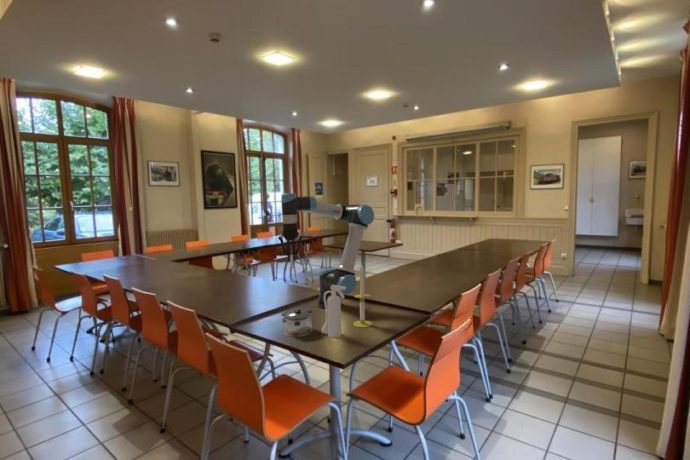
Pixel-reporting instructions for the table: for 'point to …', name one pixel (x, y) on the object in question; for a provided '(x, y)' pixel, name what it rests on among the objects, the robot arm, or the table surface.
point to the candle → (362, 302)
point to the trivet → (302, 335)
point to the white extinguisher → (333, 311)
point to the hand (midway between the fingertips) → (292, 267)
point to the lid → (297, 313)
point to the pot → (298, 326)
